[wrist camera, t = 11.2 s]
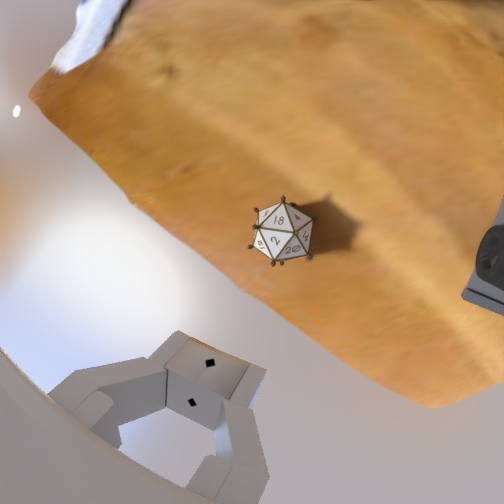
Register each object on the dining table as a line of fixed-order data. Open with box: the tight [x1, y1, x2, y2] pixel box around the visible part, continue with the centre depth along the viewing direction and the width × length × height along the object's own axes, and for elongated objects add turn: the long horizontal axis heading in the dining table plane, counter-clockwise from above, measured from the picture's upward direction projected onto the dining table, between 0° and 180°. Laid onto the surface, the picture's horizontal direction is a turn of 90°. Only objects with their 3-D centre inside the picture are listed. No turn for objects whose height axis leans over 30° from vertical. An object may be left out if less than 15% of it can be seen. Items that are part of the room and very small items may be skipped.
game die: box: [247, 195, 320, 267], centre depth 38 cm, size 9×8×10 cm
